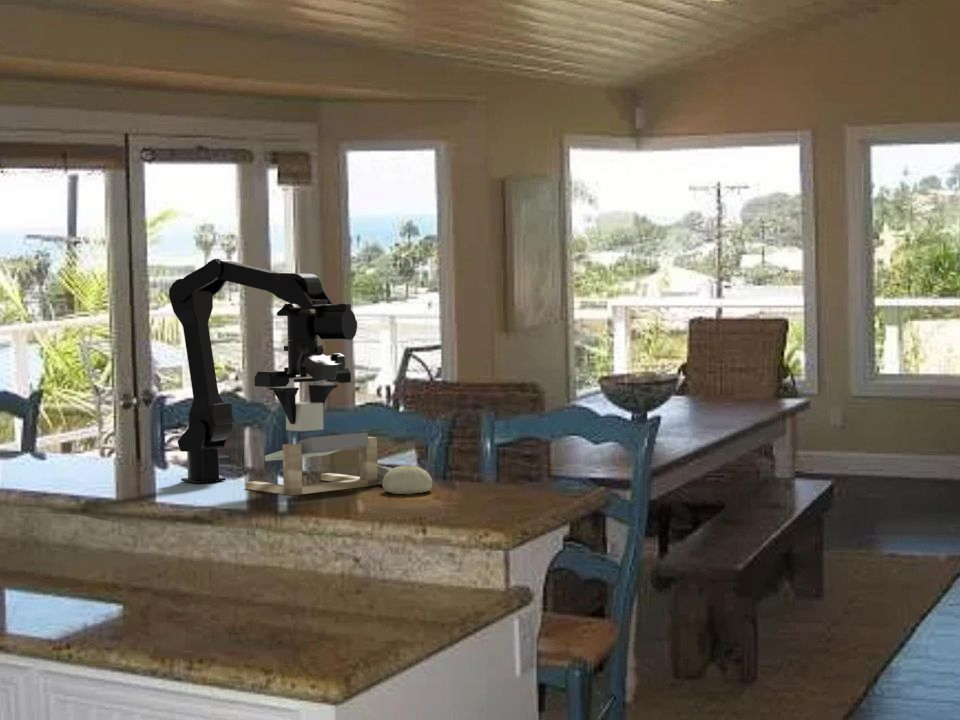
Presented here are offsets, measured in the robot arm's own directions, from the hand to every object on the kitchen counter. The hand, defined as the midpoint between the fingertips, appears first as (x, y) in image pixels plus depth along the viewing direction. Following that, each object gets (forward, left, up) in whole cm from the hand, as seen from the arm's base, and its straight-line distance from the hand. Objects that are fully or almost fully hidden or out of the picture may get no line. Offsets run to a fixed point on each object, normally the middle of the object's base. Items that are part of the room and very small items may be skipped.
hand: (304, 423), depth 292 cm
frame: (+3, 0, -12) cm, 12 cm away
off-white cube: (0, 0, -1) cm, 1 cm away
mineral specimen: (+11, +13, -12) cm, 21 cm away
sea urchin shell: (+22, +7, -12) cm, 26 cm away
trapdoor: (+4, 0, -6) cm, 7 cm away
